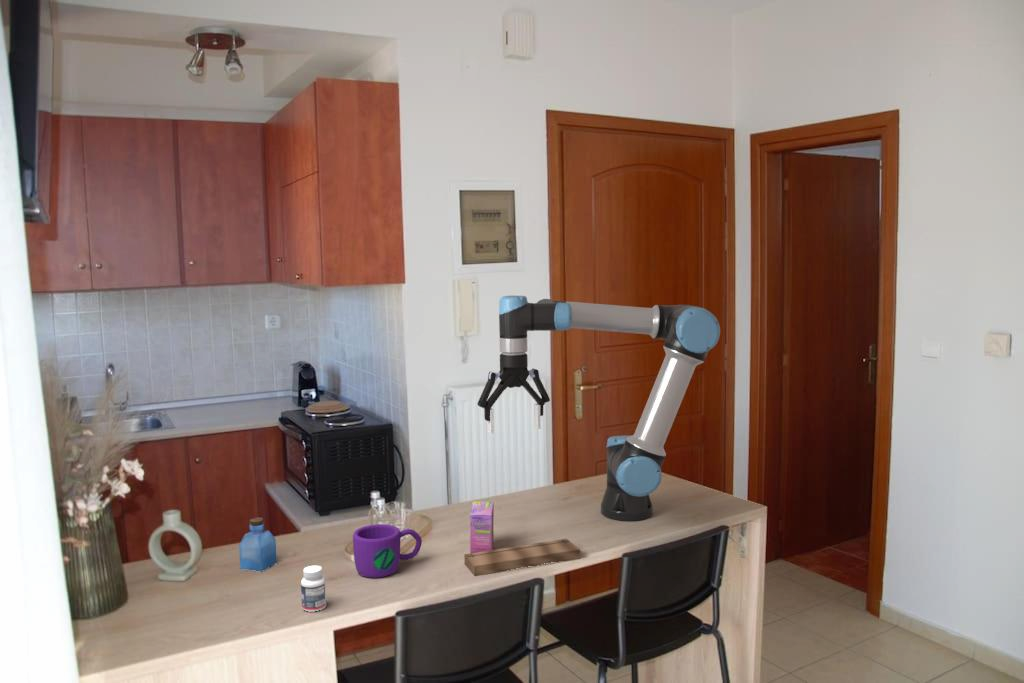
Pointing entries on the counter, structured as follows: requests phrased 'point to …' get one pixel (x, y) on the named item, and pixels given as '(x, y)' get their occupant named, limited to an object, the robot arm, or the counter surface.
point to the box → (481, 527)
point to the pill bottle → (313, 589)
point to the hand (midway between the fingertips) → (514, 430)
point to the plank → (521, 556)
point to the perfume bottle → (257, 547)
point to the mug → (380, 549)
